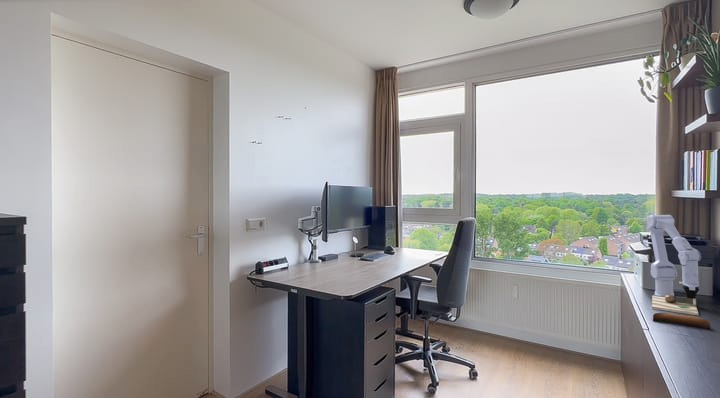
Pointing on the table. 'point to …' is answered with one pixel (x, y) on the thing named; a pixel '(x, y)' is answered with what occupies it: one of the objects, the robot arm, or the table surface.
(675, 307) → the board
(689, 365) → the table surface
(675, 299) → the bronze ball with handle
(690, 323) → the sunglasses case
